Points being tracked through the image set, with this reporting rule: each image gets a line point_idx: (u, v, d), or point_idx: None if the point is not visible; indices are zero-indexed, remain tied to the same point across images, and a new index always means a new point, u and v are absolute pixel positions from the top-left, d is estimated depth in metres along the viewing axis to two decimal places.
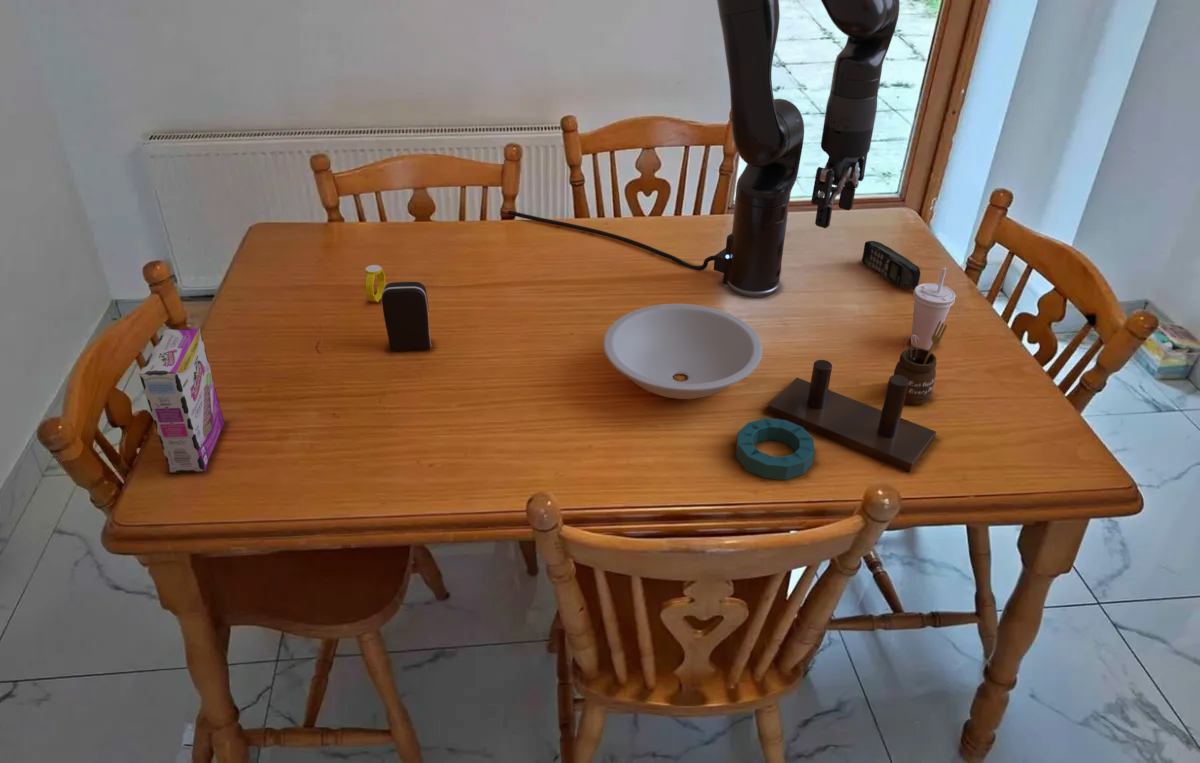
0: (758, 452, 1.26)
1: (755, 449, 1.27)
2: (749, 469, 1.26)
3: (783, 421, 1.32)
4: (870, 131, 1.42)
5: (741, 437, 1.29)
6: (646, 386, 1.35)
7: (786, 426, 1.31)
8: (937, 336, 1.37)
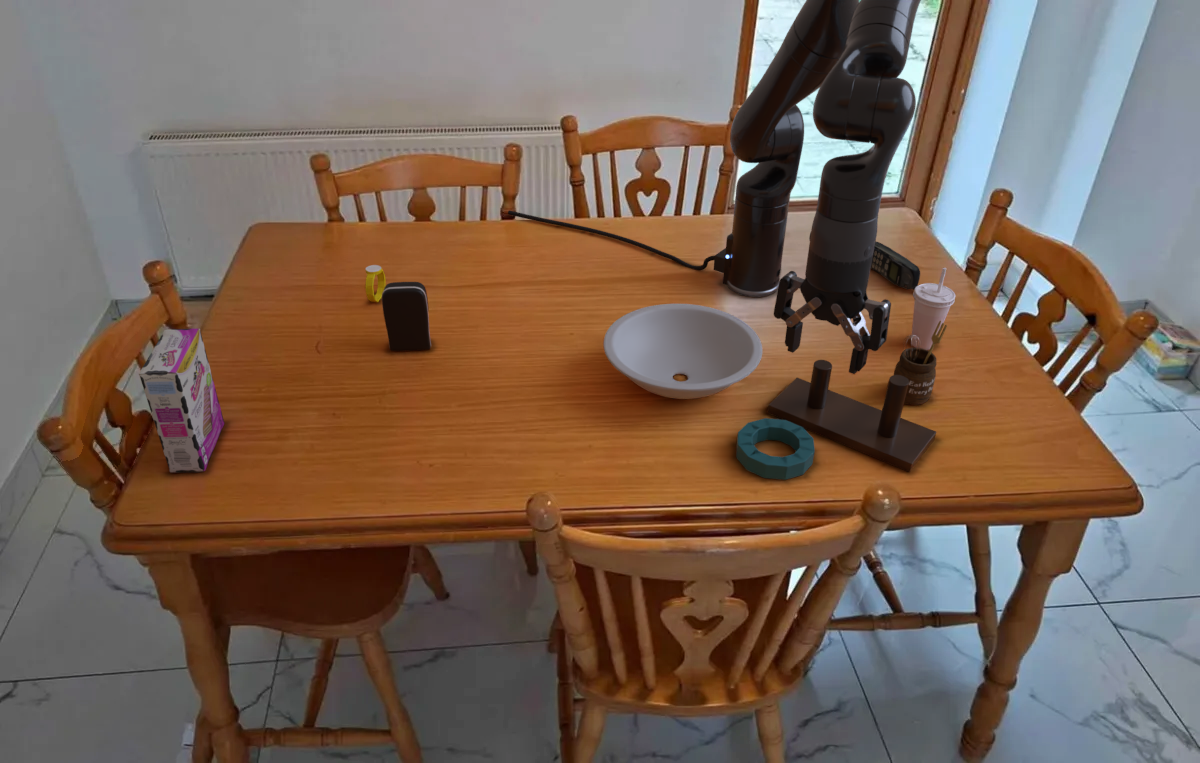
0: (758, 452, 1.26)
1: (755, 449, 1.27)
2: (749, 469, 1.26)
3: (783, 421, 1.32)
4: (825, 262, 1.09)
5: (741, 437, 1.29)
6: (646, 386, 1.35)
7: (786, 426, 1.31)
8: (937, 336, 1.37)
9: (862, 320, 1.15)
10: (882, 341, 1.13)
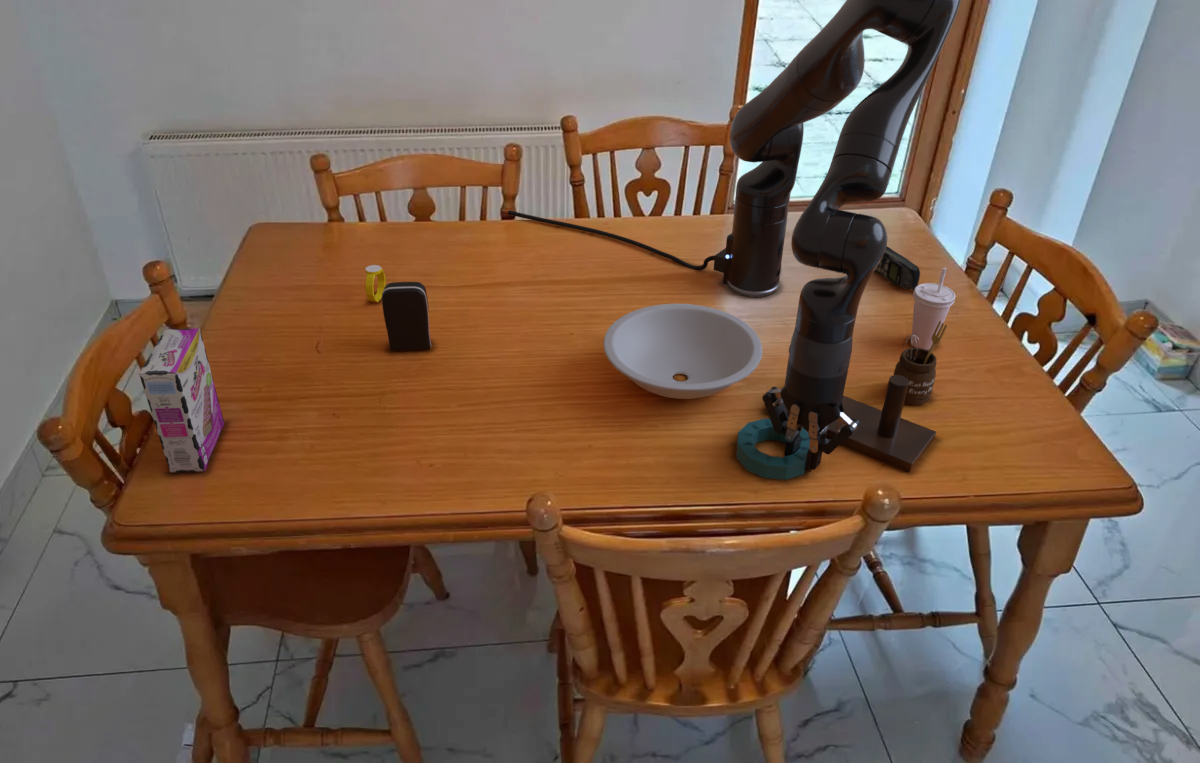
0: (758, 452, 1.26)
1: (755, 449, 1.27)
2: (749, 469, 1.26)
3: None
4: (802, 376, 1.16)
5: (741, 437, 1.29)
6: (646, 386, 1.35)
7: None
8: (937, 336, 1.37)
9: (826, 427, 1.23)
10: None
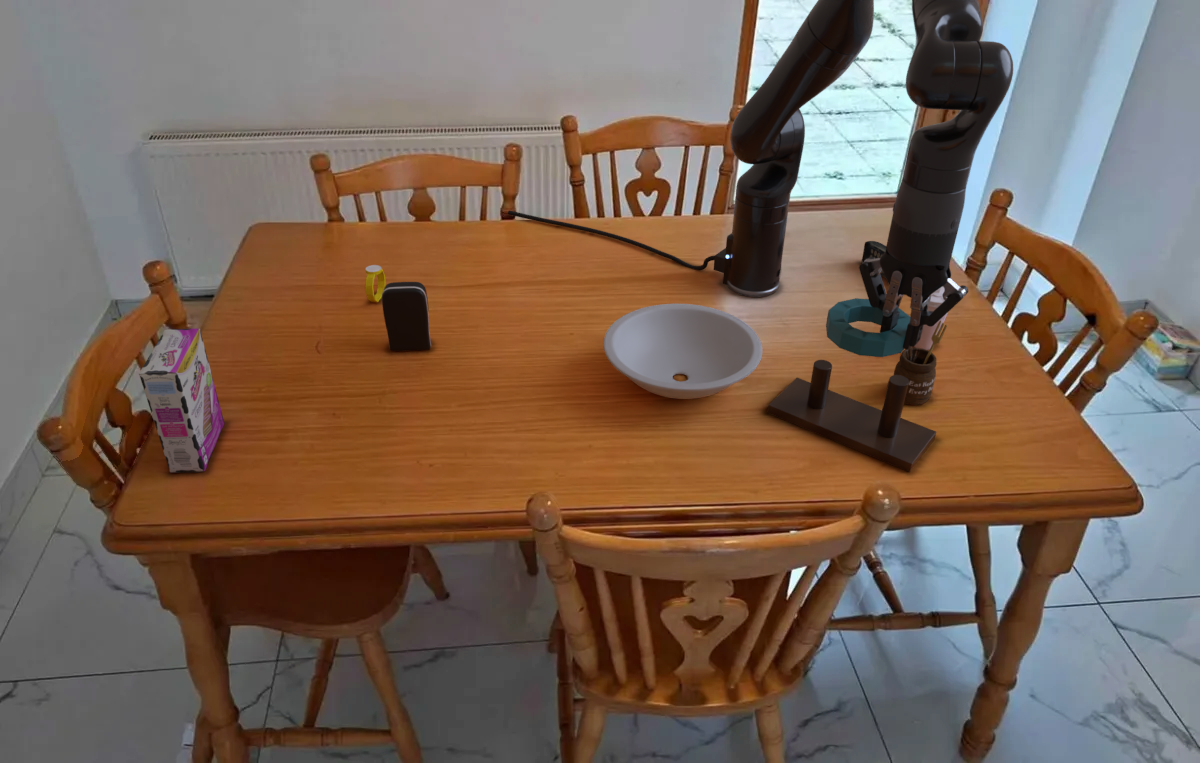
0: (852, 328, 1.17)
1: (849, 325, 1.18)
2: (842, 347, 1.18)
3: None
4: (909, 234, 1.07)
5: (832, 315, 1.20)
6: (646, 386, 1.35)
7: None
8: (937, 336, 1.37)
9: (929, 298, 1.14)
10: None
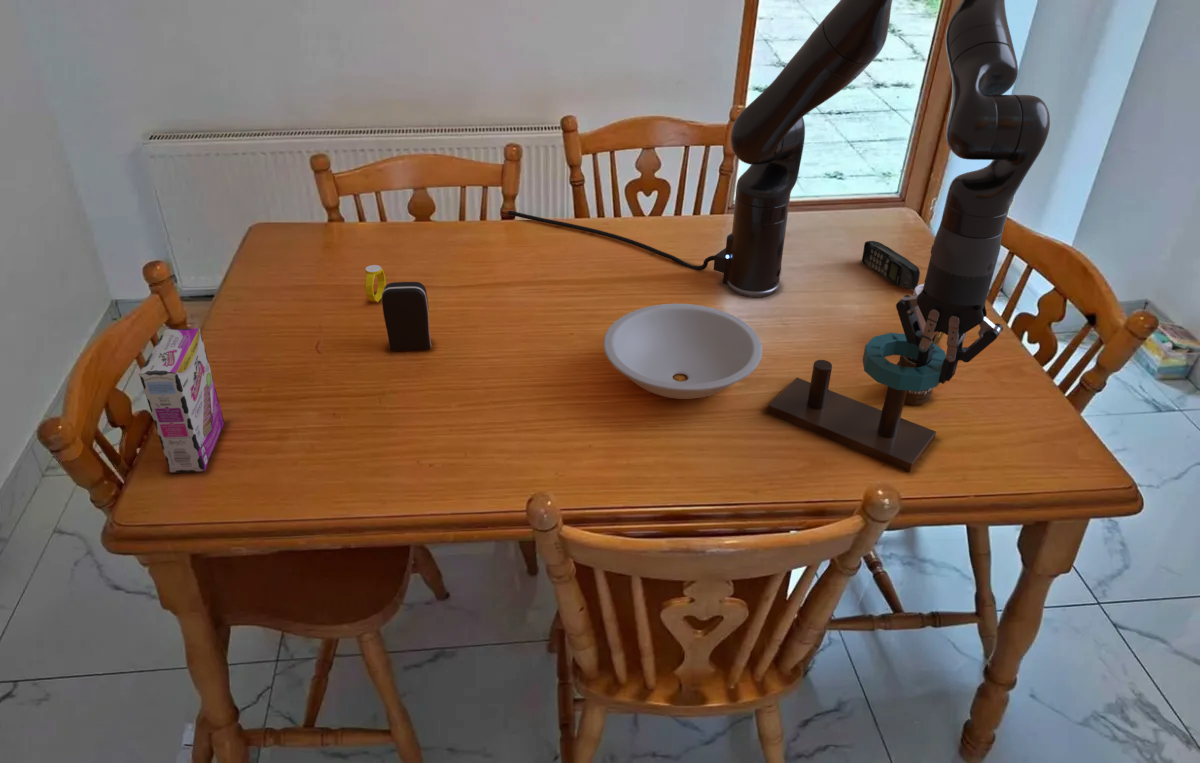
0: (890, 363, 1.22)
1: (886, 361, 1.22)
2: (880, 381, 1.22)
3: None
4: (948, 276, 1.11)
5: (869, 350, 1.24)
6: (646, 386, 1.35)
7: None
8: (937, 336, 1.37)
9: (964, 335, 1.19)
10: None
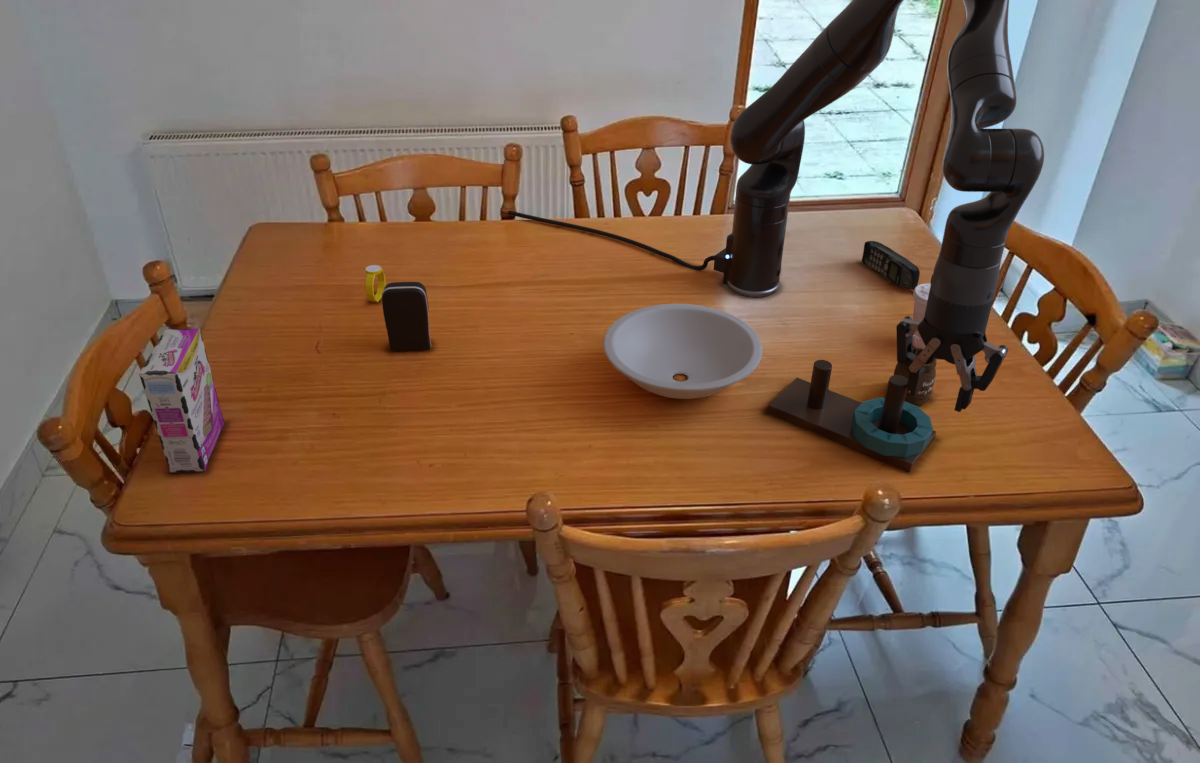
0: (877, 430, 1.28)
1: (874, 427, 1.28)
2: (868, 447, 1.28)
3: None
4: (948, 305, 1.13)
5: (858, 415, 1.31)
6: (646, 386, 1.35)
7: None
8: None
9: (974, 361, 1.20)
10: (989, 381, 1.18)
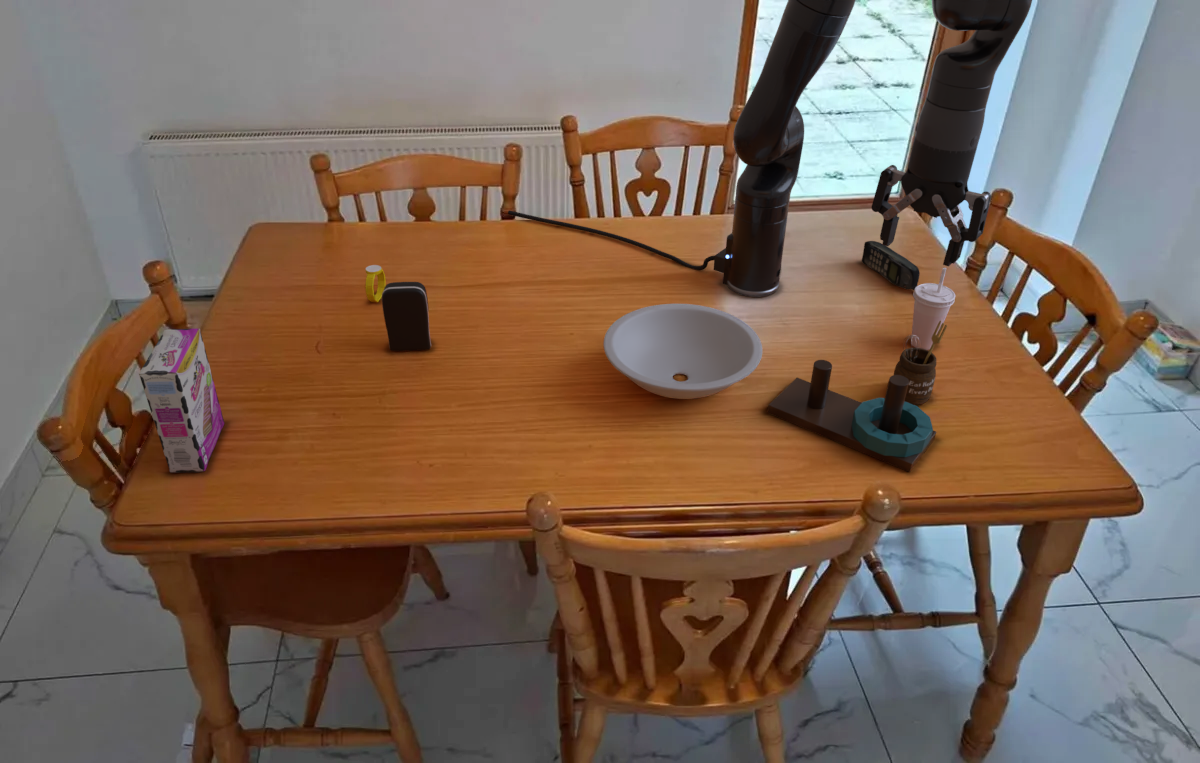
0: (877, 430, 1.28)
1: (874, 427, 1.28)
2: (868, 447, 1.28)
3: None
4: (931, 151, 1.13)
5: (858, 415, 1.31)
6: (646, 386, 1.35)
7: None
8: (937, 336, 1.37)
9: (960, 213, 1.19)
10: (979, 233, 1.18)
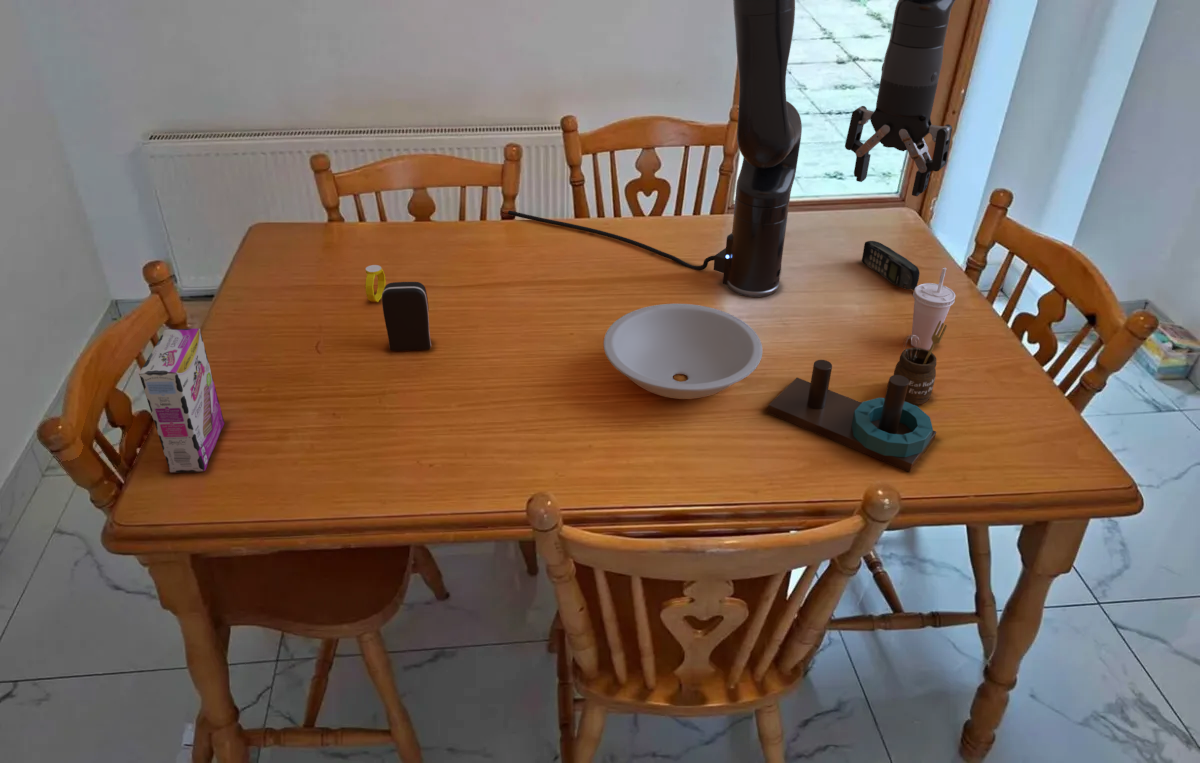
0: (877, 430, 1.28)
1: (874, 427, 1.28)
2: (868, 447, 1.28)
3: None
4: (896, 87, 1.25)
5: (858, 415, 1.31)
6: (646, 386, 1.35)
7: None
8: (937, 336, 1.37)
9: (925, 147, 1.31)
10: (943, 163, 1.29)
